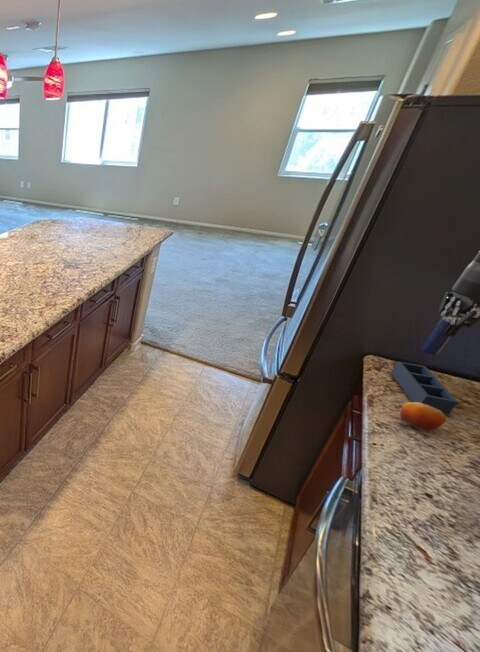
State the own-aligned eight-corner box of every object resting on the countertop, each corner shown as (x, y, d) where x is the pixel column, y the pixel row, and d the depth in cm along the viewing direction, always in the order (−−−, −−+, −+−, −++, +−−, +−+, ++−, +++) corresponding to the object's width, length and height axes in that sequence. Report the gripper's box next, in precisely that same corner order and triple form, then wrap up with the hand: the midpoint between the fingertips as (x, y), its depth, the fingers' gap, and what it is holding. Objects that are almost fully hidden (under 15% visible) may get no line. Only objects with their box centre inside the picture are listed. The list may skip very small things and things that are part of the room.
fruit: (396, 423, 105) (411, 398, 104) (390, 422, 111) (405, 397, 110) (439, 440, 100) (455, 413, 99) (431, 437, 106) (446, 412, 105)
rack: (417, 377, 124) (425, 366, 121) (448, 414, 110) (458, 402, 107) (390, 372, 126) (397, 361, 124) (417, 407, 112) (426, 396, 110)
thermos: (434, 349, 117) (459, 315, 111) (441, 356, 114) (466, 322, 108) (417, 346, 119) (441, 313, 113) (423, 353, 116) (448, 319, 110)
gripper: (520, 291, 97) (476, 347, 106) (485, 271, 108) (447, 323, 117) (479, 286, 100) (439, 341, 109) (448, 267, 111) (415, 318, 120)
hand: (444, 331), depth 113 cm, fingers closed on thermos, 3 cm apart
